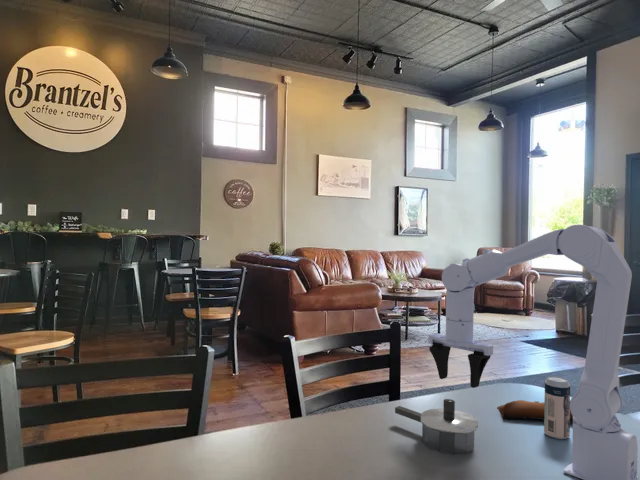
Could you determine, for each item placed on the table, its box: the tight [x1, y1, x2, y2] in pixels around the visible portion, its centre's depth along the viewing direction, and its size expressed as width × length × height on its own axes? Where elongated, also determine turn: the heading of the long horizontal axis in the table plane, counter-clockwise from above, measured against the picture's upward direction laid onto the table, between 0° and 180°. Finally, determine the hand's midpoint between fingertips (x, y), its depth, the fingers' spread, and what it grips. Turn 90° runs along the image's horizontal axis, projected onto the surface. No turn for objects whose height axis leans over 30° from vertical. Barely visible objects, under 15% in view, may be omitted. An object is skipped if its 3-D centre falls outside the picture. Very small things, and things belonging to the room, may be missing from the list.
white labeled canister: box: [543, 376, 571, 440], centre depth 96 cm, size 5×5×12 cm
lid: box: [420, 398, 479, 434], centre depth 92 cm, size 11×11×4 cm
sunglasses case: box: [496, 399, 573, 423], centre depth 107 cm, size 18×7×7 cm, turn 82°
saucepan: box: [394, 405, 475, 455], centre depth 95 cm, size 18×10×4 cm, turn 42°
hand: (458, 382), depth 98 cm, fingers open, 7 cm apart
